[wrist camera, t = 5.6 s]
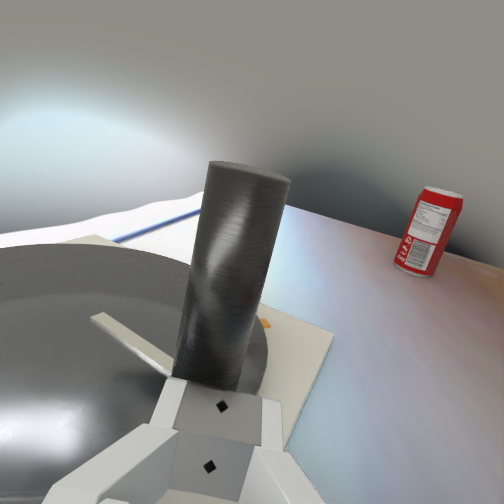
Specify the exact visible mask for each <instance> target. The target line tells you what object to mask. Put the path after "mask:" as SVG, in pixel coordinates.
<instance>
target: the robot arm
mask: <svg viewBox="0 0 504 504" xmlns="http://www.w3.org/2000/svg"><path fill="white" fill-rule="evenodd" d="M168 489H172V490H178V491H184V492H190V493H197V494H203V495H207V496H211V497H216V498H220V499H225V500H229V501H233V502H238V504H326V503H325V502H324V500H323V499H322V498H321V496H320V495H319V493H318V492H317V490H316V489H315V488H314V486H313V485H312V483H311V482H310V481H309V479H308V478H307V476H306V475H305V473H304V472H303V471H302V469H301V468H300V466H299V465H298V464H297V462H296V461H295V459H294V458H293V456H292V455H291V454H290V453H289V452H284V440H283V422H282V404H281V401H280V399H276V398H271V397H265V396H258V395H253V394H248V393H243V392H238V391H233V390H228V389H223V388H219V387H215V386H210V385H206V384H202V383H198V382H193V381H189V380H188V381H187V380H183V379H179V378H174V377H170V376H169V377H168V379H167V380H166V382H165V385H164V387H163V390H162V393H161V395H160V398H159V400H158V403H157V405H156V408H155V411H154V413H153V416H152V418H151V421H150V423H149V424H145V423H143V424H141V425H140V426H138V427H137V428H135V429H134V430H133V431H131V432H130V433H128V434H127V435H125V436H124V437H122V438H121V439H119V440H118V441H116V442H115V443H114V444H112V445H111V446H109V447H108V448H106V449H105V450H103V451H102V452H100V453H99V454H97V455H96V456H94V457H93V458H92V459H90V460H89V461H87V462H86V463H84V464H83V465H81V466H80V467H78V468H77V469H75V470H74V471H73V472H71V473H70V474H68V475H67V476H65V477H64V478H62V479H61V480H59V481H58V482H56V483H55V484H54V485H52V487H51V489H50V490H49V492H48V494H47V495H46V497H45V499H44V500H43V502H42V504H156V503H157V502H158V501H159V500H160V498H161V497H162V496H163V495H164V494H165V493H166V492H167V490H168Z"/></svg>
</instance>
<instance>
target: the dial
mask: <svg viewBox="0 0 504 504" xmlns="http://www.w3.org/2000/svg"><path fill="white" fill-rule="evenodd" d="M290 183H291V180H290V179H288V178H286V177H284V176H282V175H279V174H277V173H274V172H271V171H267V170H264V169H260V168H256V167H252V166H248V165H243V164H238V163H232V162H224V161H210V162H209V166H208V172H207V178H206V183H205V189H204V194H203V200H202V205H201V211H200V217H199V222H198V228H197V233H196V239H195V244H194V250H193V255H192V261H191V265H188V264H186V263H183V262H180V261H178V260H174V259H171V258H168V257H165V256H161V255H157V254H153V253H149V252H145V251H139V250H134V249H129V248H122V247H115V246H105V245H94V244H36V245H24V246H14V247H7V248H0V504H42V502H43V500H44V499H45V497H46V495H47V494H48V492H49V490H50V489H51V487H52V485H54V484H55V483H56V482H58V481H59V480H61V479H62V478H64V477H65V476H67V475H68V474H70V473H71V472H73V471H74V470H75V469H77V468H78V467H80V466H81V465H83V464H84V463H86V462H87V461H89V460H90V459H92V458H93V457H94V456H96V455H97V454H99V453H100V452H102V451H103V450H105V449H106V448H108V447H109V446H111V445H112V444H114V443H115V442H116V441H118V440H119V439H121V438H122V437H124V436H125V435H127V434H128V433H130V432H131V431H133V430H134V429H135V428H137V427H138V426H140V425H141V424H143V423H145V424H149V423H150V421H151V418H152V416H153V413H154V411H155V408H156V405H157V403H158V400H159V398H160V395H161V393H162V390H163V387H164V385H165V382H166V380H167V379H168V377H169V376H170V377H174V378H179V379H183V380H187V381H188V380H189V381H193V382H198V383H202V384H206V385H210V386H215V387H219V388H223V389H228V390H233V391H238V392H243V393H248V394H253V395H258V394H259V391H260V387H261V384H262V380H263V377H264V373H265V370H266V366H267V358H268V345H267V338H266V334H265V331H264V328H263V325H262V323H261V322H260V320H259V318H258V316H257V310H258V306H259V302H260V298H261V294H262V290H263V287H264V283H265V279H266V275H267V271H268V267H269V264H270V260H271V256H272V252H273V248H274V244H275V240H276V237H277V233H278V229H279V225H280V221H281V217H282V214H283V210H284V206H285V202H286V198H287V194H288V190H289V186H290Z"/></svg>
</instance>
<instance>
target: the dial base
mask: <svg viewBox="0 0 504 504" xmlns="http://www.w3.org/2000/svg"><path fill="white" fill-rule="evenodd" d="M56 244H94V245H105V246H115V247H122V248H126V247H124V246H122V245H119V244H117V243H114V242H112V241H109V240H107V239H105V238H102V237H100V236H97V235H95V234H94V235H90V236H85V237H81V238H77V239H73V240H69V241H65V242H60V243H56ZM257 316H258V318H259V320H260V322H261V323H262V325H263V328H264V331H265V334H266V338H267V345H268V358H267V366H266V370H265V373H264V377H263V380H262V384H261V387H260V391H259V394H258V396H265V397H271V398H276V399H280V401H281V404H282V422H283V440H284V449H285V447H286V445H287V442H288V440H289V438H290V436H291V434H292V431H293V429H294V427H295V425H296V422H297V420H298V418H299V416H300V414H301V411H302V409H303V407H304V405H305V402H306V400H307V398H308V396H309V393H310V391H311V389H312V387H313V385H314V382H315V380H316V378H317V376H318V373H319V371H320V369H321V367H322V364H323V362H324V360H325V358H326V356H327V353H328V351H329V348H330V346H331V343H332V340H333V337H334V334H333V333H331V332H328V331H326V330H324V329H321V328H319V327H316V326H314V325H312V324H309V323H307V322H304V321H302V320H300V319H297V318H295V317H292V316H290V315H288V314H285V313H283V312H280V311H278V310H275V309H273V308H271V307H268V306H266V305H263V304H261V303H259V306H258V310H257ZM156 504H238V502H233V501H229V500H225V499H220V498H216V497H211V496H207V495H203V494H197V493H190V492H184V491H178V490H172V489H168V490H167V492H166V493H165V494H164V495H163V496H162V497H161V498H160V500H159V501H158V502H157V503H156Z"/></svg>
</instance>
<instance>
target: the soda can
mask: <svg viewBox="0 0 504 504" xmlns="http://www.w3.org/2000/svg"><path fill="white" fill-rule="evenodd" d="M463 198H464V196H462V195H459V194H456V193H453V191H452V192H449V191H446V190H442V189H438V188H433V187H428V186H426V187H425V189H424V190H423V191H422V193H421V194H420V195H419V197H418V199H417V202H416V205H415V207H414V210H413V212H412V215H411V218H410V220H409V223H408V225H407V228H406V230H405V233H404V236H403V238H402V241H401V243H400V246H399V249H398V251H397V254H396V256H395V259H394V262H395V264H396V266H397V267H398V268H399V269H401V270H402V271H404V272H406V273H409V274H412V275H414V276H419V277H429V276H431V275H433V274H434V272H435V270H436V267H437V265H438V263H439V260H440V258H441V256H442V253H443V251H444V249H445V246H446V244H447V242H448V240H449V237H450V235H451V233H452V230H453V228H454V226H455V223H456V221H457V219H458V216H459V214H460V212H461V209H462V203H463Z"/></svg>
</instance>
